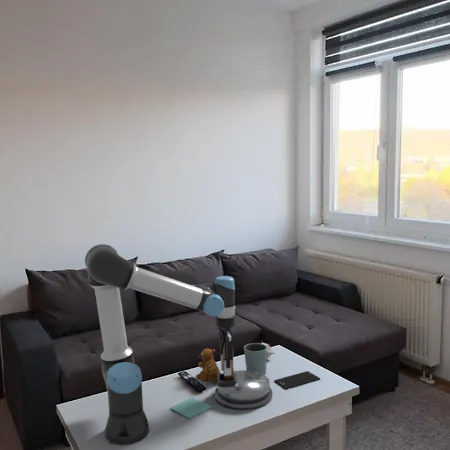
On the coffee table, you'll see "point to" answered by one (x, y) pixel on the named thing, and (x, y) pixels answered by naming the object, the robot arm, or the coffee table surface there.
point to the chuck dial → (243, 387)
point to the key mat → (190, 408)
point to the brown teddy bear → (208, 367)
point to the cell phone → (296, 380)
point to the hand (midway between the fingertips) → (226, 372)
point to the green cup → (256, 357)
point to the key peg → (231, 377)
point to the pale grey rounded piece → (268, 350)
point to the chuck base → (243, 406)
